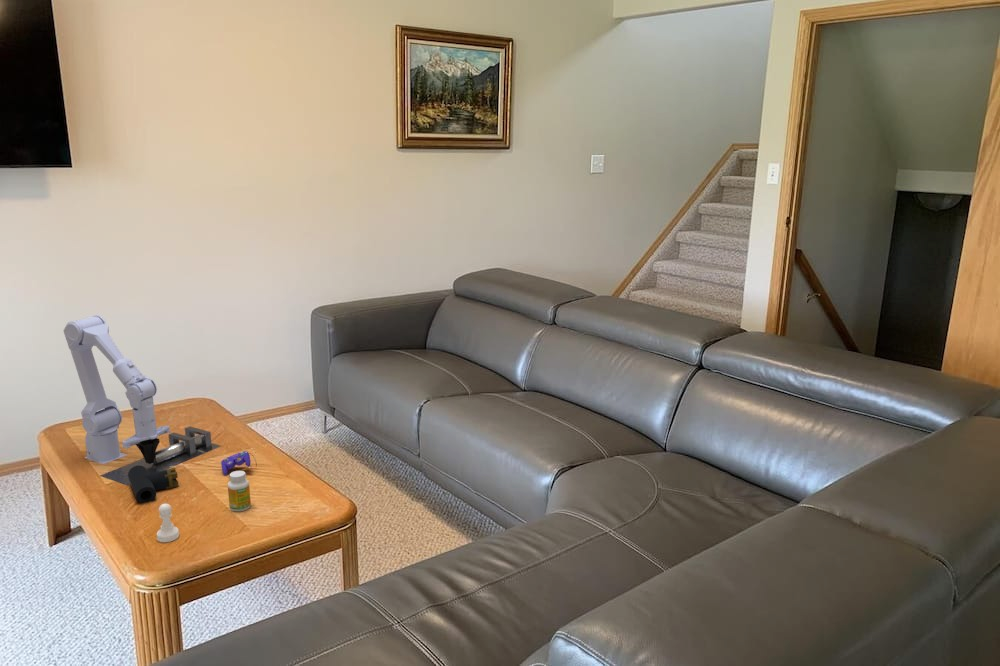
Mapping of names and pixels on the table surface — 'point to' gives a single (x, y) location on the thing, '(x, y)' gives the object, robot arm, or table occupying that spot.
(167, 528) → the chess pawn
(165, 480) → the pipe connector
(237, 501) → the supplement bottle
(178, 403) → the table surface
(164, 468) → the grey cradle rack
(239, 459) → the game controller
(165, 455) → the grey long cylinder
